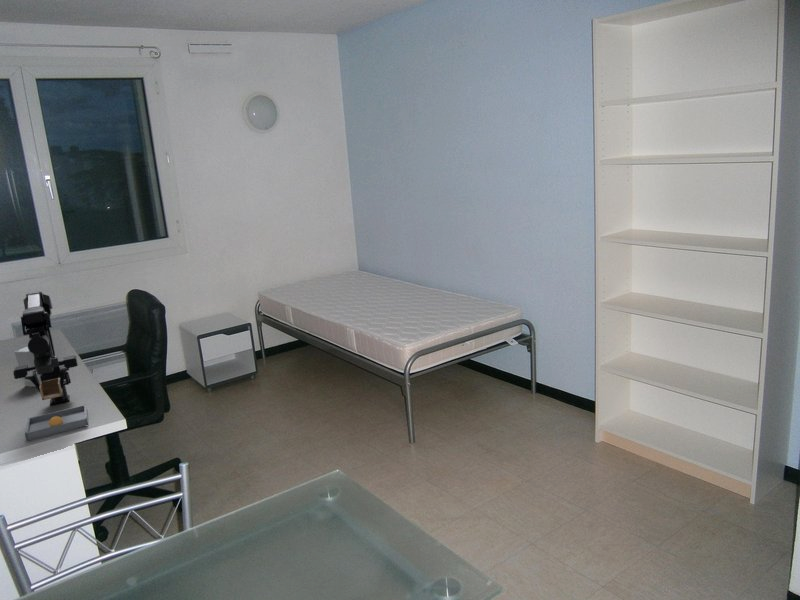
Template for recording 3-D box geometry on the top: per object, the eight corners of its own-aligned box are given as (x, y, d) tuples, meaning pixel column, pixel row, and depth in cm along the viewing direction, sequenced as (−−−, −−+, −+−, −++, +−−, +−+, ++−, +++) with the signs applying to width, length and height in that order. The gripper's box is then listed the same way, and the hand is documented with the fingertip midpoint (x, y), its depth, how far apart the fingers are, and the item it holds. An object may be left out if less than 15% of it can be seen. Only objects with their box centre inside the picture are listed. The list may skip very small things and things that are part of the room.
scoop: (43, 394, 211) (40, 381, 210) (62, 389, 214) (59, 377, 213) (42, 400, 205) (39, 387, 204) (62, 395, 208) (59, 383, 207)
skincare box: (51, 382, 255) (43, 345, 251) (35, 388, 248) (26, 351, 245) (38, 380, 258) (29, 344, 255) (22, 386, 252) (13, 350, 248)
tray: (29, 424, 211) (27, 418, 210) (87, 411, 218) (86, 404, 218) (26, 440, 197) (24, 433, 197) (88, 425, 205) (86, 418, 205)
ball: (51, 431, 203) (49, 420, 204) (64, 428, 205) (62, 417, 206) (49, 427, 200) (47, 416, 201) (63, 424, 202) (60, 413, 203)
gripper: (7, 359, 195) (18, 405, 199) (72, 346, 203) (82, 390, 207) (10, 351, 205) (21, 394, 208) (72, 339, 213) (82, 381, 217)
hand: (51, 390), depth 210 cm, fingers closed on scoop, 6 cm apart
